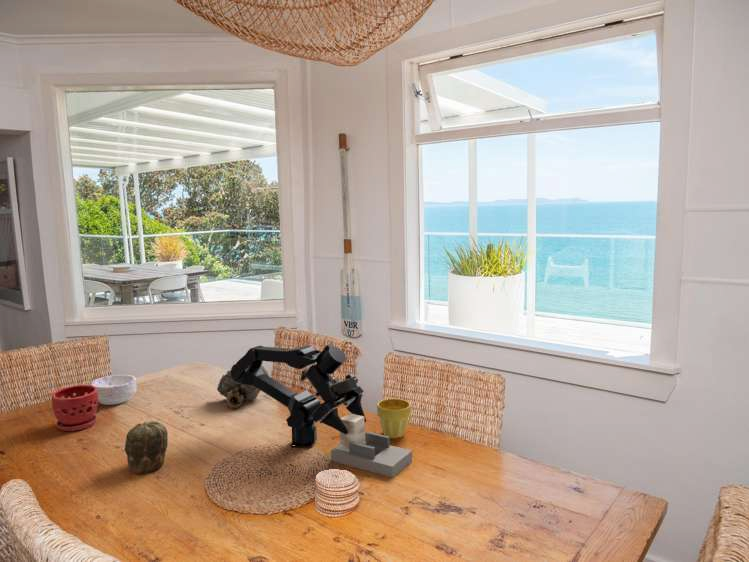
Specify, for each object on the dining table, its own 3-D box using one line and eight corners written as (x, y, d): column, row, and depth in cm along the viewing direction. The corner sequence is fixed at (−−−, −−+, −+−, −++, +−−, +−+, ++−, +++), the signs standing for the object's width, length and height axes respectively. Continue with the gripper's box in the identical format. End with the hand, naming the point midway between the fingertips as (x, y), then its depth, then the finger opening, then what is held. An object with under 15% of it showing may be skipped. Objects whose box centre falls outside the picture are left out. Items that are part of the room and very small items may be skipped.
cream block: (340, 446, 151) (339, 419, 150) (349, 440, 156) (349, 413, 155) (355, 450, 149) (354, 422, 148) (364, 443, 153) (364, 416, 152)
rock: (251, 350, 204) (242, 353, 189) (277, 378, 204) (270, 383, 189) (215, 384, 203) (203, 390, 188) (241, 412, 203) (231, 420, 188)
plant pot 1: (44, 431, 173) (41, 394, 171) (80, 416, 185) (78, 382, 183) (74, 436, 168) (71, 399, 166) (109, 421, 180) (106, 386, 179)
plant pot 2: (408, 442, 161) (408, 410, 160) (374, 439, 163) (374, 408, 162) (412, 428, 171) (412, 399, 170) (380, 426, 173) (380, 397, 172)
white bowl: (125, 408, 193) (124, 386, 192) (83, 408, 193) (81, 386, 192) (144, 393, 208) (143, 373, 207) (105, 394, 208) (103, 374, 207)
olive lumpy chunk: (178, 460, 151) (175, 418, 150) (150, 478, 141) (147, 434, 139) (146, 454, 155) (144, 414, 153) (117, 472, 145) (114, 429, 143)
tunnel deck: (331, 460, 150) (330, 440, 149) (352, 446, 159) (352, 426, 158) (392, 477, 140) (392, 455, 139) (412, 460, 149) (412, 440, 148)
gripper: (319, 375, 144) (355, 423, 139) (357, 358, 160) (390, 401, 155) (297, 399, 149) (330, 445, 144) (336, 380, 165) (367, 422, 160)
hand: (356, 427), depth 151 cm, fingers open, 9 cm apart
